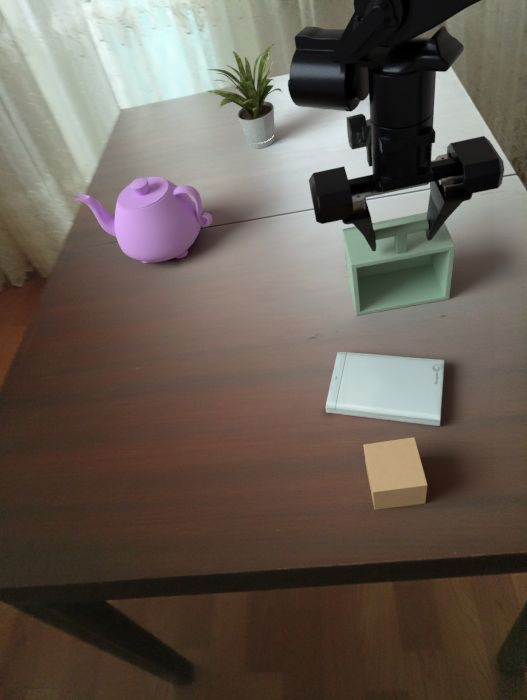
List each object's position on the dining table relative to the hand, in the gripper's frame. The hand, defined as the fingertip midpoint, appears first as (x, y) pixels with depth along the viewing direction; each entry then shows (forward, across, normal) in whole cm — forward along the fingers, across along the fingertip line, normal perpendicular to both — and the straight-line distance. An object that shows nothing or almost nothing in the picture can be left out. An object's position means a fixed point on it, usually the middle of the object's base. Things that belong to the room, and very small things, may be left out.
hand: (401, 243), depth 58 cm
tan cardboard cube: (+10, +6, +24) cm, 27 cm away
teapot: (+10, +35, -22) cm, 43 cm away
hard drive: (+10, +5, +13) cm, 17 cm away
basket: (+4, 0, -6) cm, 7 cm away
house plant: (+10, +16, -50) cm, 54 cm away
